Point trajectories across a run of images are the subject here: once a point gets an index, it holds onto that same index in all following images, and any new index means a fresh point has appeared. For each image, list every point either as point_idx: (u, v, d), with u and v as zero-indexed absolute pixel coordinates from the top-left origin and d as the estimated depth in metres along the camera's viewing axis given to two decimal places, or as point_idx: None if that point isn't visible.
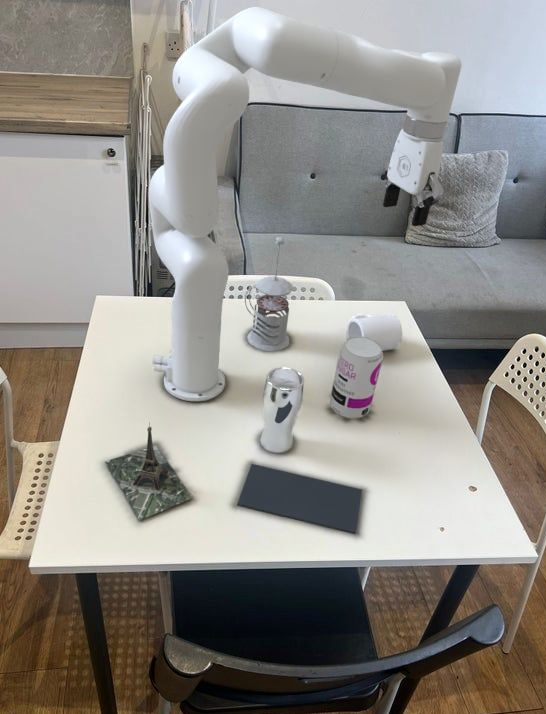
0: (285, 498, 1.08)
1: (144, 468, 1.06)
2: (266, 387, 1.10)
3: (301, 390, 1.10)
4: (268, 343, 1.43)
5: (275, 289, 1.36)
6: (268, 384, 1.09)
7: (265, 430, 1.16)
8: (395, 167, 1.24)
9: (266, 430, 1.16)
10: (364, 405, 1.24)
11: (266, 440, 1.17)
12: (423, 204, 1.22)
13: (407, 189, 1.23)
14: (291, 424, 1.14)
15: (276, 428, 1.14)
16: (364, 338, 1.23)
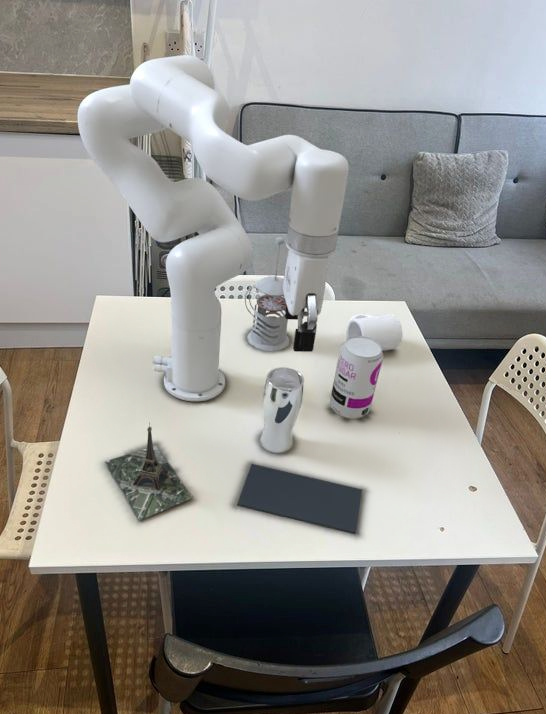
0: (285, 498, 1.08)
1: (144, 468, 1.06)
2: (266, 387, 1.10)
3: (301, 390, 1.10)
4: (268, 343, 1.43)
5: (275, 289, 1.36)
6: (268, 384, 1.09)
7: (265, 430, 1.16)
8: (285, 277, 1.02)
9: (266, 430, 1.16)
10: (364, 405, 1.24)
11: (266, 440, 1.17)
12: (300, 329, 0.98)
13: (288, 307, 1.00)
14: (291, 424, 1.14)
15: (276, 428, 1.14)
16: (364, 338, 1.23)
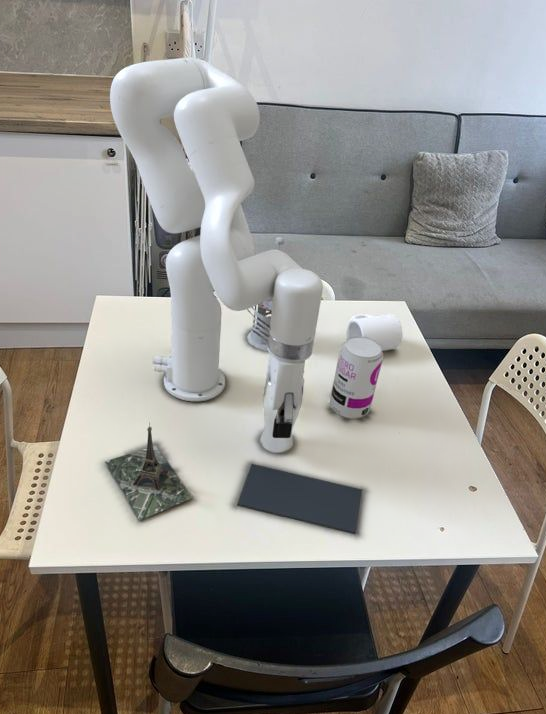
0: (285, 498, 1.08)
1: (144, 468, 1.06)
2: (266, 387, 1.10)
3: (301, 390, 1.10)
4: None
5: None
6: (268, 384, 1.09)
7: (265, 430, 1.16)
8: (268, 372, 1.12)
9: (266, 430, 1.16)
10: (364, 405, 1.24)
11: (266, 440, 1.17)
12: (278, 420, 1.10)
13: (269, 401, 1.10)
14: None
15: None
16: (364, 338, 1.23)
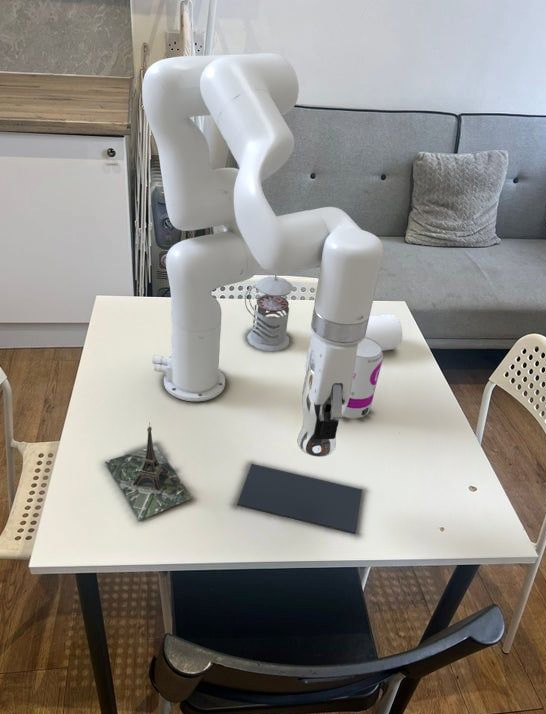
0: (285, 498, 1.08)
1: (144, 468, 1.06)
2: (308, 377, 0.91)
3: None
4: (268, 343, 1.43)
5: (275, 289, 1.36)
6: (311, 374, 0.90)
7: (304, 430, 0.97)
8: (308, 359, 0.93)
9: (306, 429, 0.96)
10: (364, 405, 1.24)
11: (305, 442, 0.97)
12: (322, 418, 0.90)
13: (311, 394, 0.90)
14: None
15: None
16: (364, 338, 1.23)
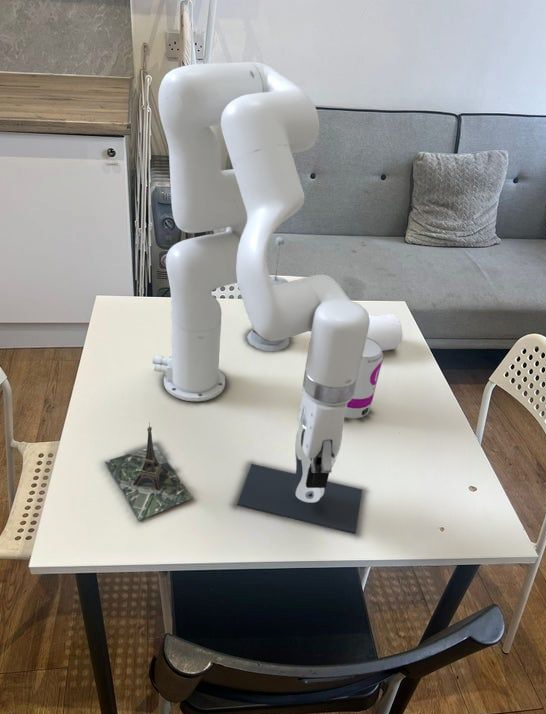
0: (285, 498, 1.08)
1: (144, 468, 1.06)
2: (300, 431, 0.96)
3: None
4: (268, 343, 1.43)
5: None
6: (303, 428, 0.96)
7: (297, 478, 1.03)
8: (301, 413, 0.98)
9: (299, 477, 1.02)
10: (364, 405, 1.24)
11: (298, 489, 1.03)
12: (313, 470, 0.96)
13: (303, 447, 0.96)
14: None
15: None
16: None
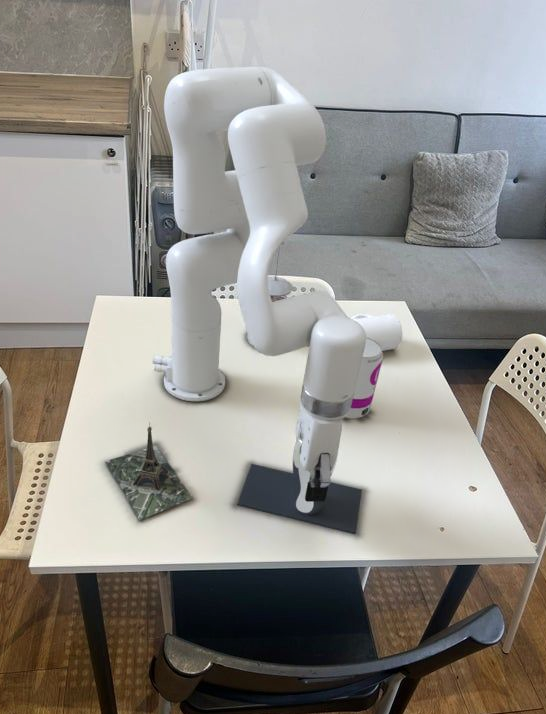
0: (285, 498, 1.08)
1: (144, 468, 1.06)
2: (297, 446, 0.99)
3: None
4: None
5: (275, 289, 1.36)
6: (300, 443, 0.98)
7: (294, 490, 1.05)
8: (298, 426, 1.00)
9: (296, 490, 1.04)
10: (364, 405, 1.24)
11: (295, 501, 1.05)
12: (312, 484, 0.96)
13: (300, 459, 0.98)
14: None
15: None
16: None
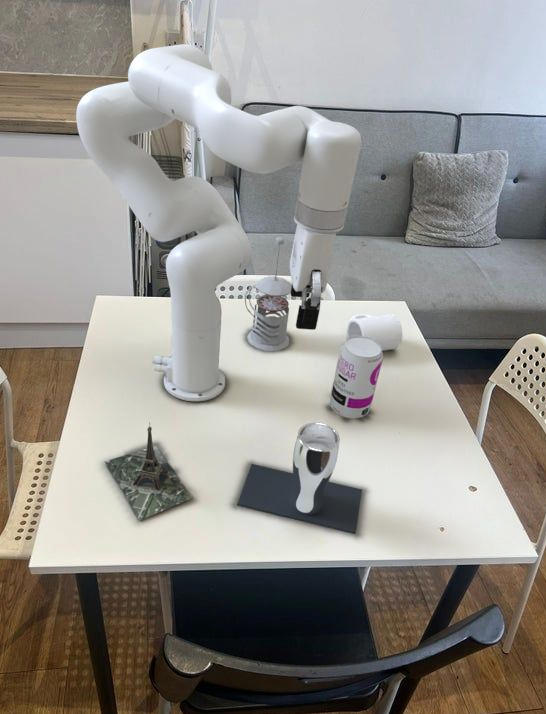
0: (285, 498, 1.08)
1: (144, 468, 1.06)
2: (297, 446, 0.99)
3: (336, 450, 0.98)
4: (268, 343, 1.43)
5: (275, 289, 1.36)
6: (300, 443, 0.98)
7: (294, 490, 1.05)
8: (292, 253, 1.01)
9: (296, 490, 1.04)
10: (364, 405, 1.24)
11: (295, 501, 1.05)
12: (303, 305, 0.97)
13: (292, 283, 0.99)
14: (324, 485, 1.02)
15: (307, 489, 1.02)
16: (364, 338, 1.23)
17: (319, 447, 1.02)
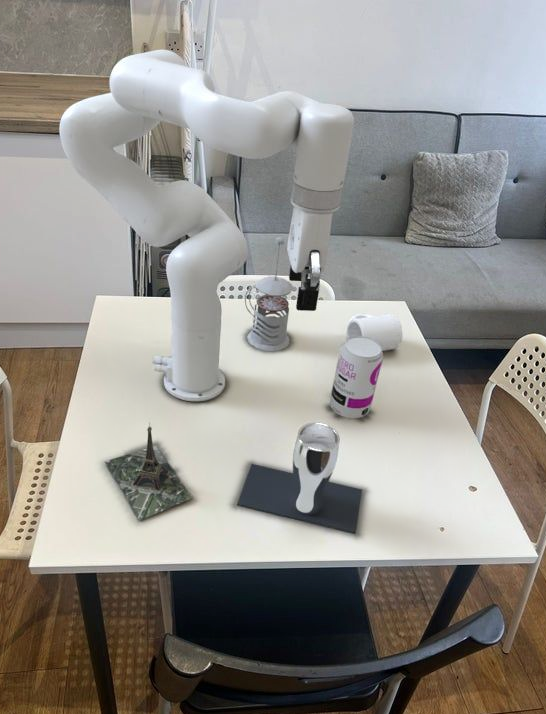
0: (285, 498, 1.08)
1: (144, 468, 1.06)
2: (297, 446, 0.99)
3: (336, 450, 0.98)
4: (268, 343, 1.43)
5: (275, 289, 1.36)
6: (300, 443, 0.98)
7: (294, 490, 1.05)
8: (290, 236, 1.02)
9: (296, 490, 1.04)
10: (364, 405, 1.24)
11: (295, 501, 1.05)
12: (303, 286, 0.99)
13: (291, 265, 1.00)
14: (324, 485, 1.02)
15: (307, 489, 1.02)
16: (364, 338, 1.23)
17: (319, 447, 1.02)
